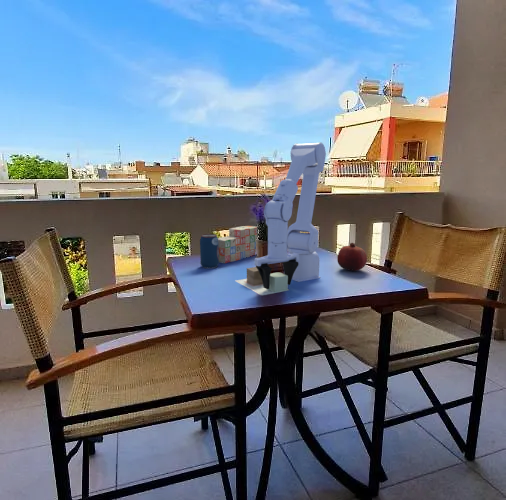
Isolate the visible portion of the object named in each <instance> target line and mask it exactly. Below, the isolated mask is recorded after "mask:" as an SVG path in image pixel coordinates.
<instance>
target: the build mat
mask: <svg viewBox="0 0 506 500" xmlns="http://www.w3.org/2000/svg"><path fill="white" fill-rule="evenodd" d="M235 282H236V283H238V284H240V285H242V286H244V287H245V288H247V289H249V290H251V291H253V292H254V293H256V294H258V295H260V296H267V295H272V294H276V293H278V292H276V293H275V292H273V291H271V290H269V289H266V288H264V287H263V284H259V285H252V284H250V283H248V282H247V278H243V279H238V280H237V279H235ZM286 291H290V289H288V290H286ZM286 291H285V292H286ZM281 292H283V291H281ZM281 292H280V293H281Z"/></svg>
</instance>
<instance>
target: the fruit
mask: <svg viewBox="0 0 506 500" xmlns="http://www.w3.org/2000/svg"><path fill="white" fill-rule="evenodd" d="M367 256H368V255H367V253H366V251H365V250H364V249H363V248H362V247H359V246H357V245H356V243H354V242H350V243H349V245H345V246H342V247H341V248H340V250H338V253H337V256H336V257H337V260H336V261H337V263H338V265H339V267H340V268H342V269H343V270H349V271H354V272H355V271H356V272H357V271H360V270H362V269H364V268H365V266H366V264H367V263H368V262H367V261H368V257H367Z"/></svg>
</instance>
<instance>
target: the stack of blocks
mask: <svg viewBox="0 0 506 500" xmlns="http://www.w3.org/2000/svg"><path fill="white" fill-rule="evenodd" d="M257 227H258V226H254V225H245V226H244V225H243V226H242V225H241V226H236V227H231V228H229V229H228V231H229V232H228V236H221V237H217V238H218V242H219V264H220V263H221V264H228V263H232V262H237V261H239V260H244V259H247V258H251V257H253V256H252V255H255V252H256V238H257ZM250 256H251V257H250ZM255 256H256V255H255ZM246 257H247V258H246ZM243 258H244V259H243Z"/></svg>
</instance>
